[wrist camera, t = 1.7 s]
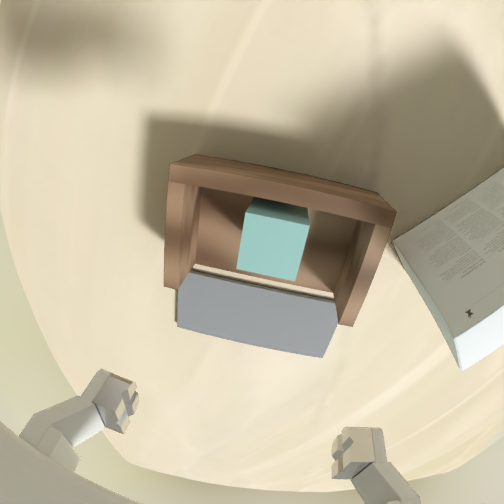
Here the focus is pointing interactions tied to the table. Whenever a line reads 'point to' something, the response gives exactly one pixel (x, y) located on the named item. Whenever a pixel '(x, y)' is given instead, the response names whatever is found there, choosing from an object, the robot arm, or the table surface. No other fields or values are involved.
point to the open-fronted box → (282, 190)
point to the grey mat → (256, 314)
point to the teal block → (273, 238)
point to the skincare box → (462, 269)
